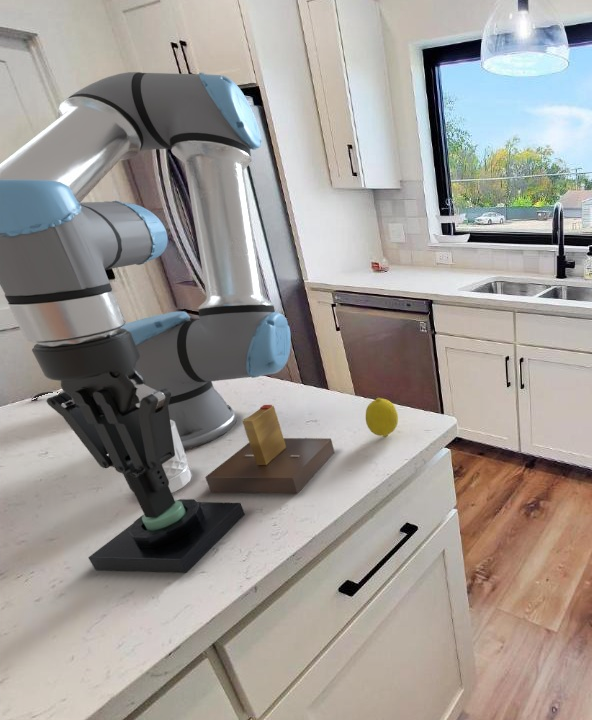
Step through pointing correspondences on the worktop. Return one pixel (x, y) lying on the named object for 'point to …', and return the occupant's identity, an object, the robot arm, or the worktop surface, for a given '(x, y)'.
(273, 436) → the lock turn
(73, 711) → the worktop surface
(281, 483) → the plate
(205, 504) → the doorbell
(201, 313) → the robot arm
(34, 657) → the worktop surface
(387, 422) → the lemon
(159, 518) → the bell button
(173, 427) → the white cup
